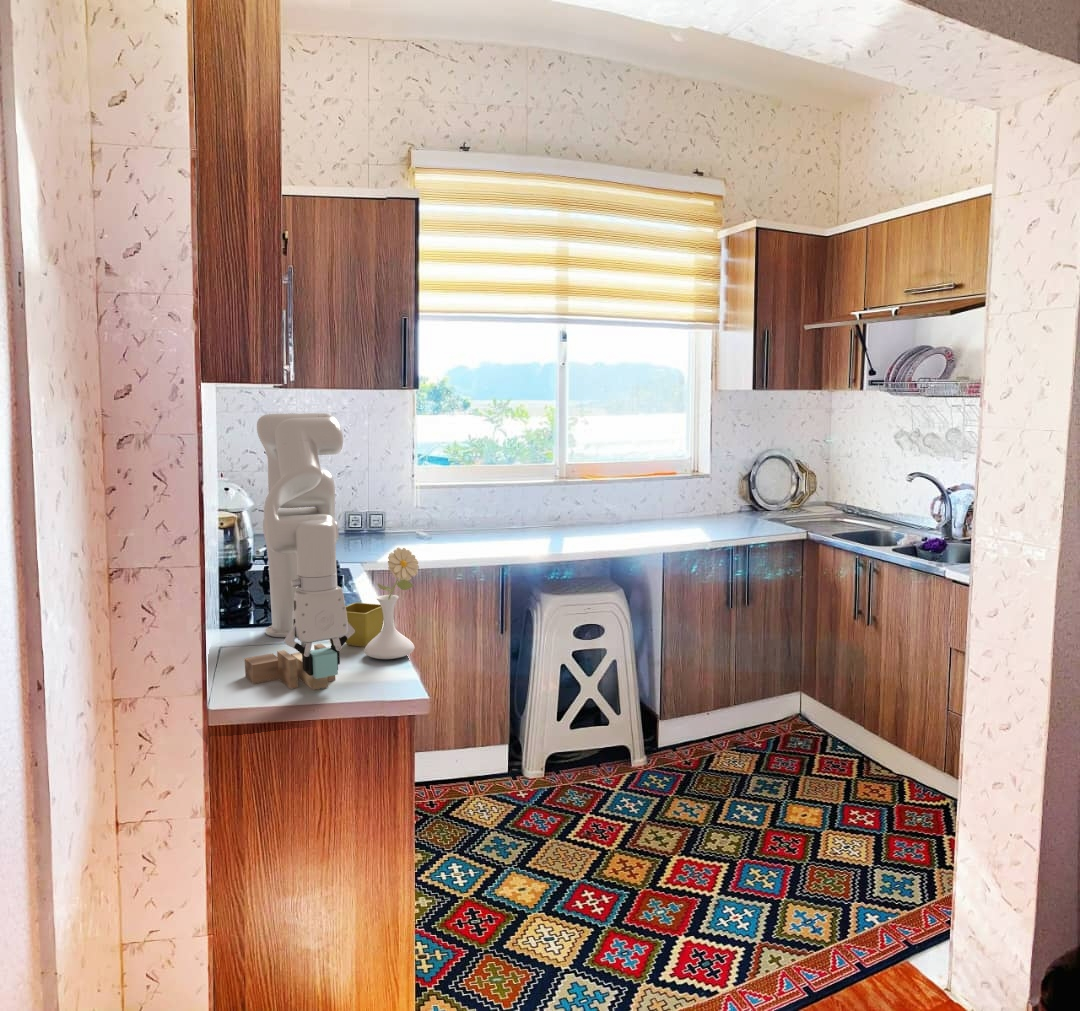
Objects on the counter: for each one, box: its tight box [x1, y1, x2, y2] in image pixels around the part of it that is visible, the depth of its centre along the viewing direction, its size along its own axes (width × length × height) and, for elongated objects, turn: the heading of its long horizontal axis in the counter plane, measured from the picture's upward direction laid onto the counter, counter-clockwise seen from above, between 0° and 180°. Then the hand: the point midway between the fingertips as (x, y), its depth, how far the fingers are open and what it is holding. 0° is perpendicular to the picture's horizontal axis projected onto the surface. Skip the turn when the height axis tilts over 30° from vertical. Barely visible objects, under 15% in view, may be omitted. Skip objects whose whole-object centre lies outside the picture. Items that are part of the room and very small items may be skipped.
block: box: [310, 646, 339, 679], centre depth 171 cm, size 4×4×4 cm
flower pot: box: [345, 602, 384, 648], centre depth 206 cm, size 9×9×9 cm
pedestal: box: [244, 653, 279, 685], centre depth 182 cm, size 6×6×4 cm
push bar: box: [290, 651, 329, 691], centre depth 180 cm, size 14×3×4 cm, turn 34°
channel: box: [276, 643, 336, 690], centre depth 180 cm, size 8×10×6 cm
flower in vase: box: [364, 547, 420, 660], centre depth 195 cm, size 13×11×25 cm
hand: (321, 670), depth 172 cm, fingers closed on block, 4 cm apart
